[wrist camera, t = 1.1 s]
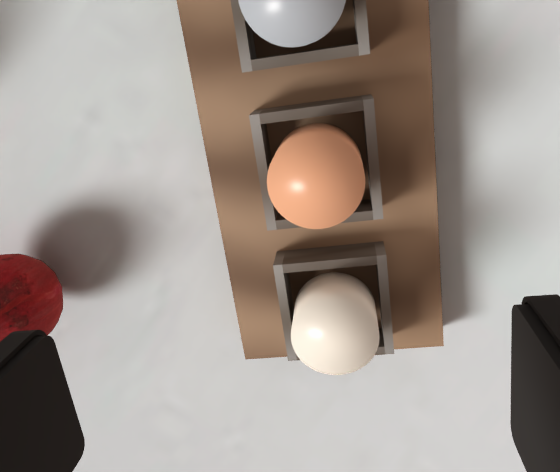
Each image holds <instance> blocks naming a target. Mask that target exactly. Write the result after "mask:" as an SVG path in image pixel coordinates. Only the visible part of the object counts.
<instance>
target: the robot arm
mask: <svg viewBox="0 0 560 472" xmlns="http://www.w3.org/2000/svg"><path fill="white" fill-rule="evenodd" d="M511 431H512V436H513V440H514V443H515V446H516V448H517V450H518V453H519V455H520V457H521V459H522V462H523V464H524V466H525V469H526V471H527V472H560V296H558V295H542V296H527V297H524V298H523V300H522V304H521V305H514V306H513V308H512V347H511ZM83 451H84V436H83V433H82V430H81V427H80V423H79V420H78V417H77V414H76V410H75V407H74V404H73V401H72V397H71V394H70V391H69V388H68V384H67V381H66V378H65V375H64V371H63V368H62V365H61V361H60V358H59V355H58V352H57V348H56V345H55V342H54V340H53V339H52V337H50V336H47V335H46V333H45V332H44V331H42V330H27V331H13V332H12V333H10V334H9V335H8V336H6V337H5V338H4V339H3V340H2V341H1V342H0V472H72V471H73V470H74V468H75V467H76V465H77V463H78V462H79V460H80V459H81V457H82V455H83Z"/></svg>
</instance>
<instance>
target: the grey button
mask: <svg viewBox="0 0 560 472" xmlns="http://www.w3.org/2000/svg"><path fill="white" fill-rule="evenodd" d="M238 1H239V6H240V9H241V11H242V14H243V16H244V18H245V20H246V21H247V23H248V24H249V26H250V27H251V28H252V29H253V31H254V32H255V33H257V34H258V35H259V36H260V37H261V38H263V39H264V40H266V41H268V42H270V43H272V44H275V45H278V46H282V47H301V46H305V45H308V44H311V43H313V42H316V41H318V40H319V39H321V38H323V37H324V36H325V35H327V34H328V33H329V32H330V31H331V30H332V29H333V27H334V26H335V25H336V23H337V22H338V20H339V18H340V16H341V14H342V12H343V9H344V6H345V2H346V0H238Z"/></svg>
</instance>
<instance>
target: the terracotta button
mask: <svg viewBox="0 0 560 472" xmlns="http://www.w3.org/2000/svg"><path fill="white" fill-rule="evenodd" d="M267 189H268V193H269V196H270V199H271V201H272V203H273V205H274V207H275V208H276V210H277V211H278V212H279V213H280V214H281V215H282V216H283V217H284V218H285V219H287V220H288V221H290V222H291V223H293V224H295V225H297V226H300V227H303V228H308V229H324V228H329V227H332V226H335V225H337V224H339V223H341V222H343V221H345V220H346V219H347V218H348V217H350V216H351V215H352V214H353V213H354V211H355V210H356V209H357V207H358V206H359V204H360V202H361V200H362V197H363V194H364V190H365V173H364V168H363V163H362V158H361V154H360V151H359V149H358V147H357V145H356V143H355V142H354V140H353V139H352V138H351V137H350V136H349V135H348V134H347V133H346V132H345V131H343V130H342V129H340V128H338V127H336V126H333V125H330V124H326V123H311V124H306V125H303V126H301V127H299V128H296V129H295V130H293V131H292V132H290V133H289V134H288V135H287V136H286V137H285V138H284V139H283V141H282V142H281V144H280V145H279V147H278V149H277V151H276V153H275V155H274V157H273V159H272V161H271V163H270V166H269V169H268V174H267Z"/></svg>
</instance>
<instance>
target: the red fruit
mask: <svg viewBox="0 0 560 472" xmlns="http://www.w3.org/2000/svg"><path fill="white" fill-rule="evenodd" d="M62 310H63V294H62V286H61V284H60V282H59V280H58V278H57V276H56V274H55V272H54V271H53V270H51V269H50V268H49V267H48V266H47V265H46V264H45V263H44V262H42V261H41V260H38V259H35V258H32V257H29V256H26V255H22V254H5V255H0V342H1V341H2V340H3V339H4V338H5V337H6V336H8V335H9V334H10V333H12V332H13V331H27V330H42V331H44V332H45V333H46V335H48V334H49V333H50V332H51V331H52V330H53V329H54V327H55V326H56V324H57V323H58V321H59V318H60V315H61V312H62Z"/></svg>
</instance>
